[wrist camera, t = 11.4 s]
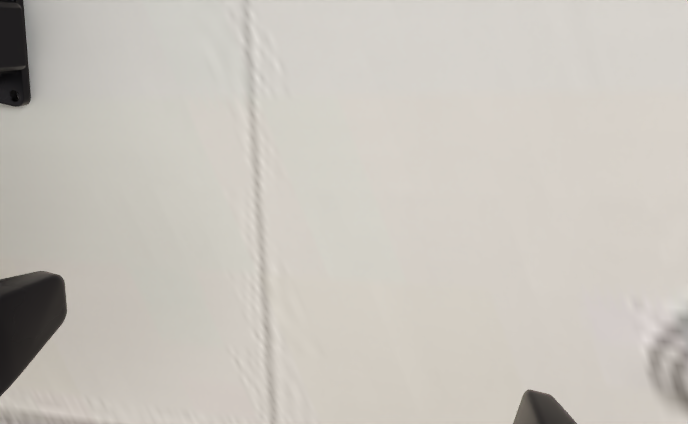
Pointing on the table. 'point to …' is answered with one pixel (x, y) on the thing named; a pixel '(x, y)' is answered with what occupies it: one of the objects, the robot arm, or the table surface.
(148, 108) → the table surface
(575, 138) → the table surface
